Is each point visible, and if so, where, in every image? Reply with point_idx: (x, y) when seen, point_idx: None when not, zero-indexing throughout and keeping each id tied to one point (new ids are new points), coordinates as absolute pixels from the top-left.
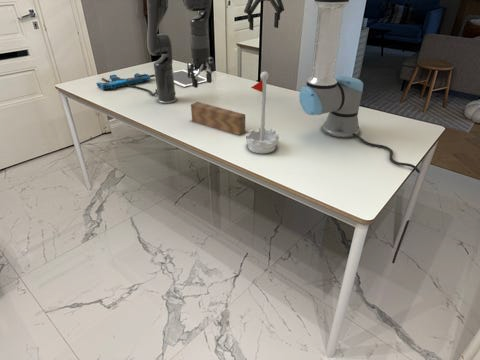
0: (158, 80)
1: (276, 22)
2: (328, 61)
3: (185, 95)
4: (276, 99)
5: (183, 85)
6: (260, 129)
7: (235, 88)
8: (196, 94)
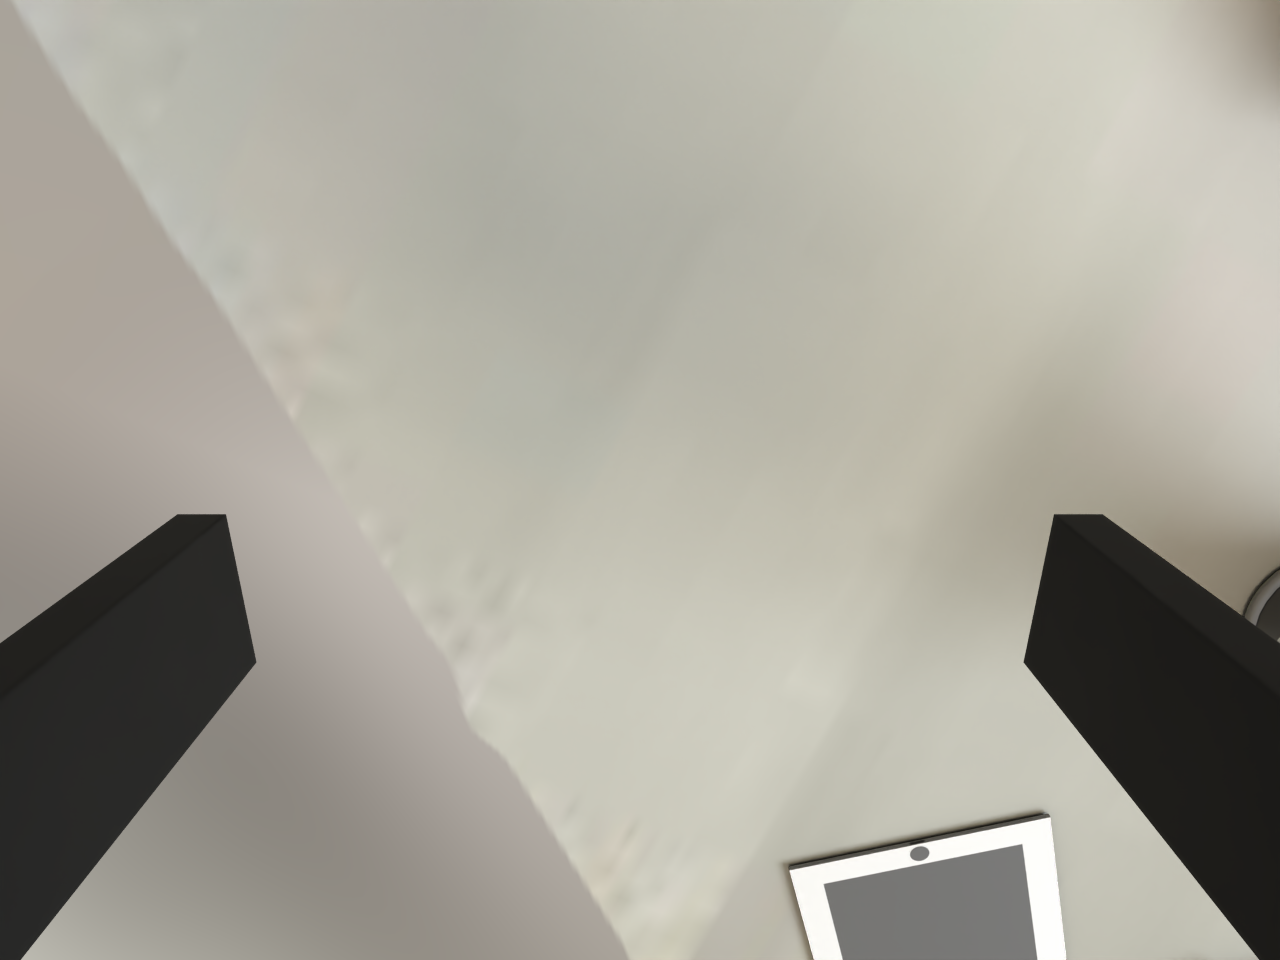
0: None
1: (144, 633)
2: None
3: None
4: (500, 251)
5: (1039, 839)
6: None
7: (700, 647)
8: None
